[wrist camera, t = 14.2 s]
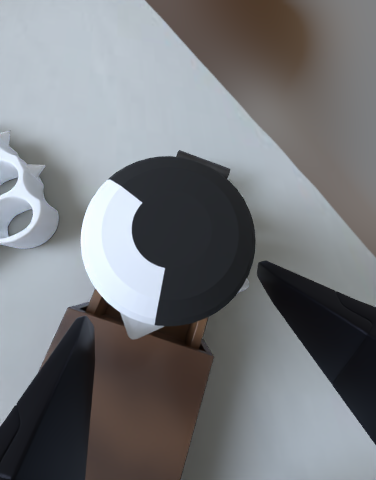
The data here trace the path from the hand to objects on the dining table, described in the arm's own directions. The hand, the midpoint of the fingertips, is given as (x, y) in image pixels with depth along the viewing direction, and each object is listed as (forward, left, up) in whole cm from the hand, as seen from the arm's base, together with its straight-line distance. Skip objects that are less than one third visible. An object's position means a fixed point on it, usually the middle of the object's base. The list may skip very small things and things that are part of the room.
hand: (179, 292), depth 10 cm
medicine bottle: (+2, -1, -8) cm, 8 cm away
